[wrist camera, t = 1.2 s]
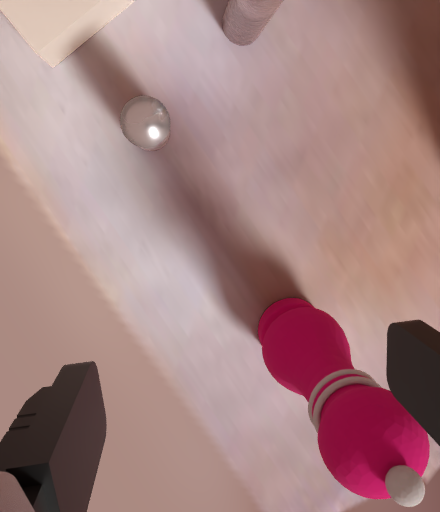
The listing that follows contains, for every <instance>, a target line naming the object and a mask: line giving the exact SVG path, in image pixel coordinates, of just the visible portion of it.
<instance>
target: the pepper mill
mask: <svg viewBox="0 0 440 512" xmlns="http://www.w3.org/2000/svg"><path fill="white" fill-rule="evenodd" d="M258 337H259V340H260V343H261V345H262V353H263V359H264V362H265V365H266V367H267V368H268V370H269V372H270V373H271V375H272V376H273V377H274V378H275V379H276V381H277V382H279V383H280V384H281V385H283V386H284V387H285V388H287V389H289V390H291V391H293V392H295V393H297V394H300V395H303V396H304V397H305V398H306V400H307V401H308V402H309V404H308V413H309V417H310V420H311V422H312V424H313V425H314V426H315V429H316V431H317V433H318V445H319V450H320V453H321V456H322V458H323V461H324V463H325V465H326V466H327V468H328V469H329V471H330V472H331V474H332V475H333V476H334V478H335V479H336V480H337V481H338V482H339V483H340V484H341V485H343V486H344V487H345V488H347V489H348V490H350V491H351V492H353V493H356V494H358V495H360V496H363V497H366V498H371V499H387V498H393V500H395V501H396V502H397V503H398V504H400V505H402V506H407V507H412V506H416V505H417V504H419V503H420V502H421V501H422V499H423V497H424V494H425V487H424V483H423V480H422V479H421V476H422V475H423V473H424V471H425V469H426V466H427V464H428V459H429V446H430V445H429V440H428V435H427V432H426V431H425V430H424V429H423V427H422V426H421V425H420V424H419V423H418V422H417V421H416V420H415V419H414V418H413V417H412V416H411V415H410V413H409V412H408V411H407V410H406V409H405V408H404V407H403V406H402V405H401V404H400V403H399V402H398V401H397V399H396V398H395V397H394V396H393V394H392V392H391V391H389V390H386V389H383V388H381V386H380V385H379V384H377V383H376V381H375V380H374V379H373V378H372V377H371V376H370V375H368V374H366V373H365V372H362V371H360V370H355V369H354V367H353V365H352V362H351V355H350V347H349V343H348V341H347V338H346V336H345V333H344V331H343V330H342V328H341V327H340V326H339V324H338V323H337V322H336V321H335V320H334V318H333V317H331V316H330V315H329V314H327V313H326V312H324V311H322V310H319V309H316V308H314V307H313V306H312V305H311V304H310V303H308V302H307V301H304V300H302V299H299V298H286V299H282V300H280V301H277V302H275V303H274V304H272V305H271V306H270V307H268V308H267V310H266V311H265V312H264V313H263V315H262V317H261V319H260V322H259V325H258Z"/></svg>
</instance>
